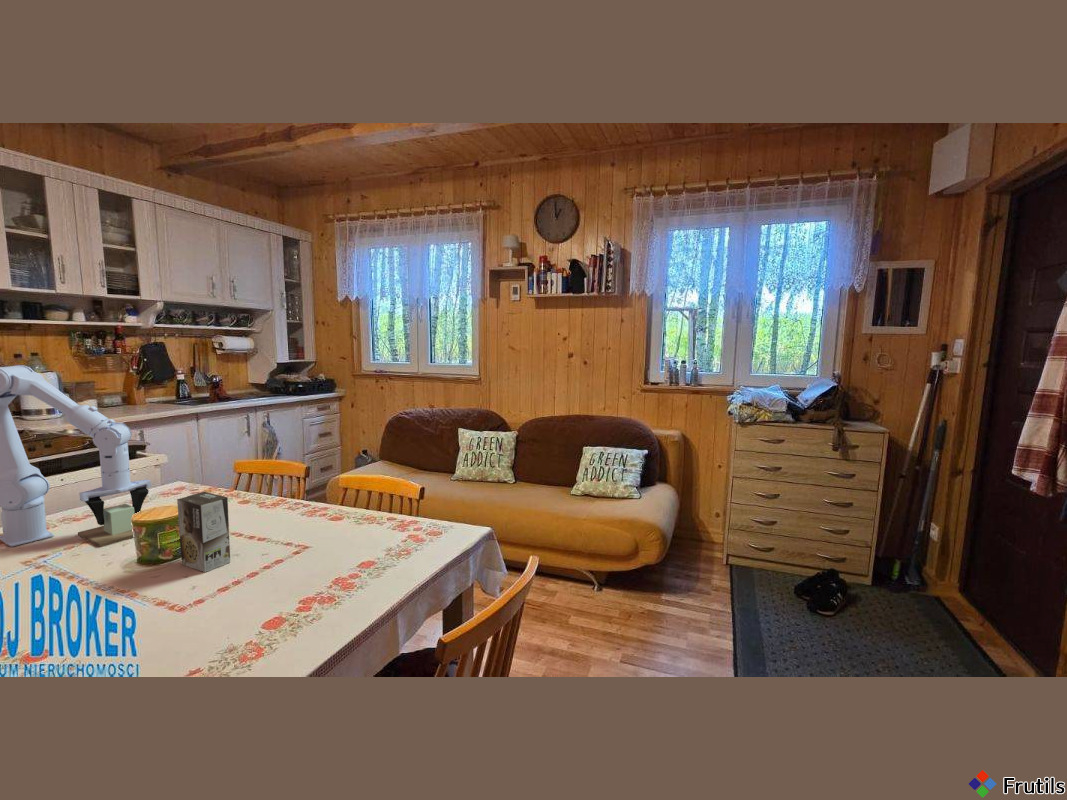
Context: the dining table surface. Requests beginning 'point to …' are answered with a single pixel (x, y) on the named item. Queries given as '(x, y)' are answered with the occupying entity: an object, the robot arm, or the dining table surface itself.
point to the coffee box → (204, 531)
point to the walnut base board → (104, 536)
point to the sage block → (118, 519)
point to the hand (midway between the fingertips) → (119, 519)
